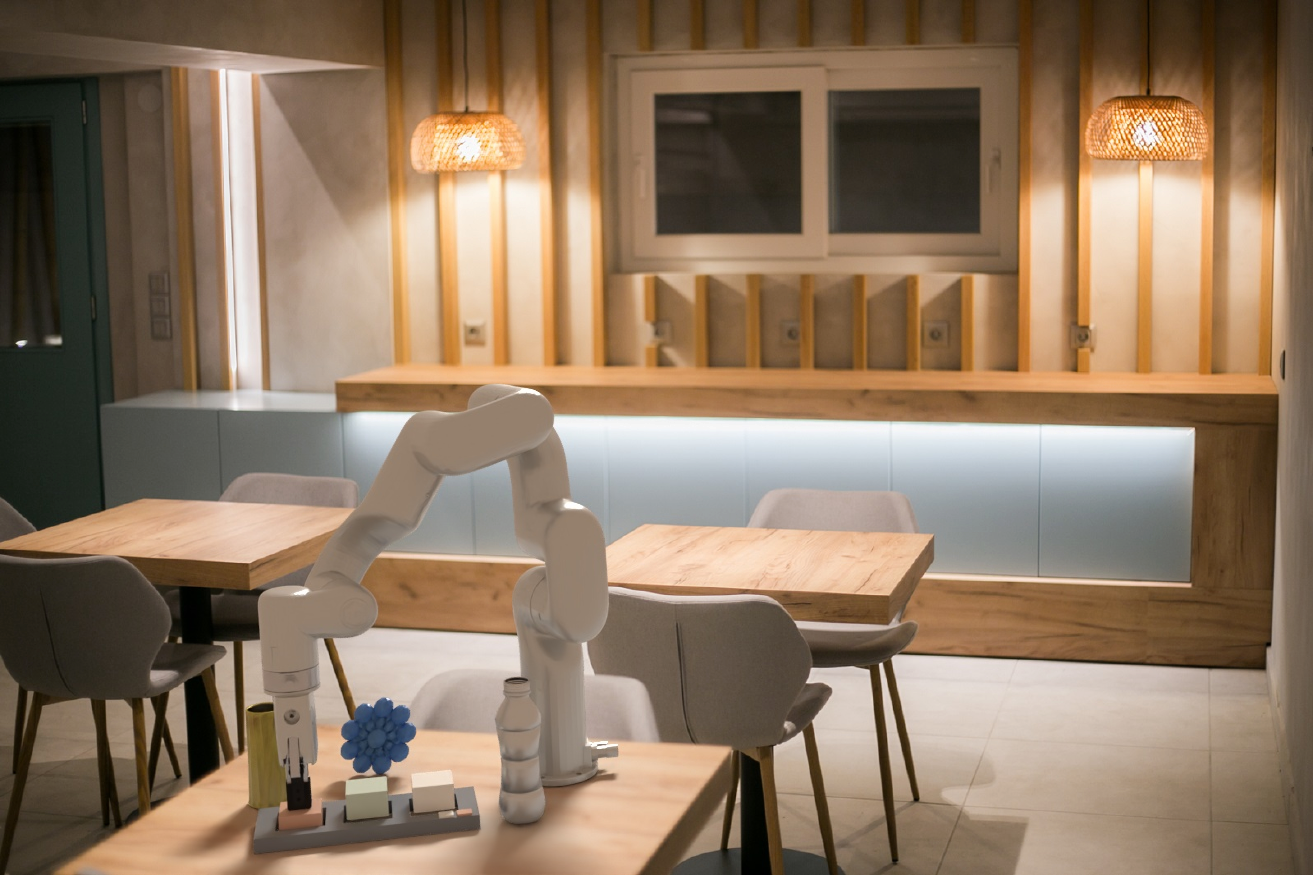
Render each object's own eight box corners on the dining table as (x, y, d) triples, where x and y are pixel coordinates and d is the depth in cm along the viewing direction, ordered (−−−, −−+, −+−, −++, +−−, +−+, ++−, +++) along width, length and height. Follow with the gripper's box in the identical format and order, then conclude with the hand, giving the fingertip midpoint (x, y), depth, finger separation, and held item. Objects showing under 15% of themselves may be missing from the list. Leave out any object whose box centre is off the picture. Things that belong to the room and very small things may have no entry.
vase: (280, 811, 206) (273, 714, 204) (240, 809, 207) (234, 713, 205) (299, 795, 212) (292, 701, 210) (260, 793, 213) (254, 700, 211)
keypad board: (474, 799, 208) (473, 784, 207) (480, 828, 197) (479, 812, 197) (259, 822, 202) (258, 806, 202) (254, 853, 191) (253, 837, 191)
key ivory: (452, 794, 204) (451, 769, 204) (454, 808, 199) (453, 783, 198) (412, 798, 203) (411, 773, 203) (413, 813, 198) (412, 788, 197)
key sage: (388, 800, 202) (386, 776, 202) (388, 815, 197) (387, 790, 197) (347, 805, 201) (345, 780, 201) (347, 820, 196) (345, 795, 195)
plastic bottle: (510, 833, 195) (503, 690, 193) (492, 816, 201) (485, 678, 199) (554, 823, 198) (547, 682, 196) (534, 807, 204) (528, 670, 202)
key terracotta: (323, 822, 201) (321, 797, 201) (322, 838, 196) (320, 813, 195) (282, 827, 200) (280, 802, 199) (280, 842, 194) (278, 817, 194)
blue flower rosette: (421, 762, 224) (417, 687, 222) (416, 778, 217) (412, 701, 216) (346, 765, 223) (342, 690, 222) (339, 781, 217) (334, 704, 215)
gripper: (318, 691, 188) (326, 825, 191) (321, 660, 203) (329, 785, 205) (259, 696, 187) (268, 831, 189) (266, 665, 201) (274, 791, 204)
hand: (299, 807), depth 197 cm, fingers closed
